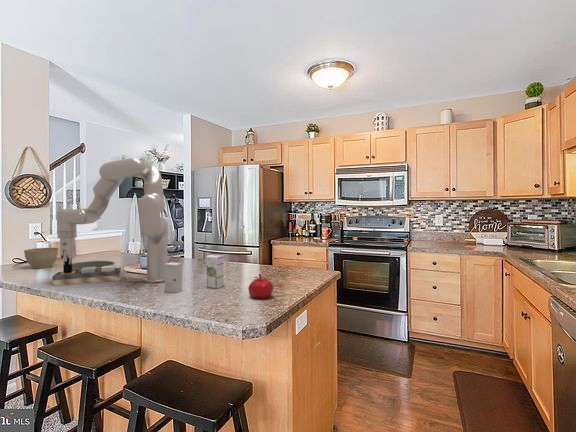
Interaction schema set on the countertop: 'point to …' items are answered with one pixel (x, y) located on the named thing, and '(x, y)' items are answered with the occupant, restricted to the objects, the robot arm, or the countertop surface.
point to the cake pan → (91, 264)
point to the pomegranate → (260, 288)
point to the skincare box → (173, 277)
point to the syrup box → (215, 271)
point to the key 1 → (68, 273)
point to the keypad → (86, 277)
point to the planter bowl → (41, 257)
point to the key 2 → (108, 268)
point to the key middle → (88, 269)
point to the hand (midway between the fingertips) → (67, 272)
